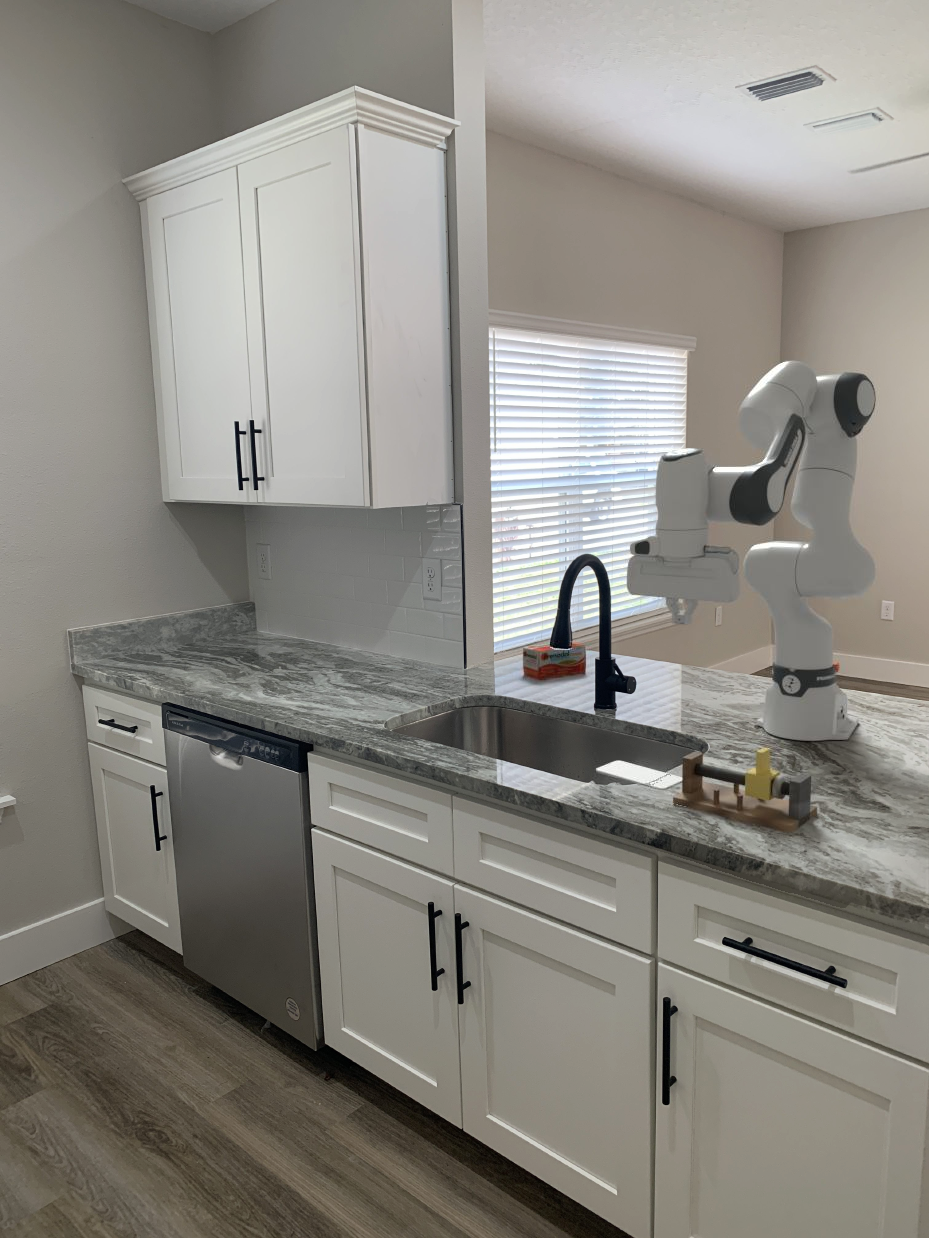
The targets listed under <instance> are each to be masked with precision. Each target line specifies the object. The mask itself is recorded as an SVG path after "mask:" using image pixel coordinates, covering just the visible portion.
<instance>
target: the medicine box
mask: <svg viewBox="0 0 929 1238" xmlns="http://www.w3.org/2000/svg"><path fill="white" fill-rule="evenodd" d="M571 642H572V649H570V650H554V649H552V648H550V643H544V644H543V643H542V644H537V645H529V646H523V647H522V670H523V675H524V676H525V677H527V678H531V679H535V680H537V681H543V680H544V681H545V680H551V679H558V678H559V679H560V678H564V677H571V676H577V675H578V676H579V675H584V674H586V671H587V670H586V669H587V652H586V645H585V644H581V643H577V642H573V641H571Z"/></svg>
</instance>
